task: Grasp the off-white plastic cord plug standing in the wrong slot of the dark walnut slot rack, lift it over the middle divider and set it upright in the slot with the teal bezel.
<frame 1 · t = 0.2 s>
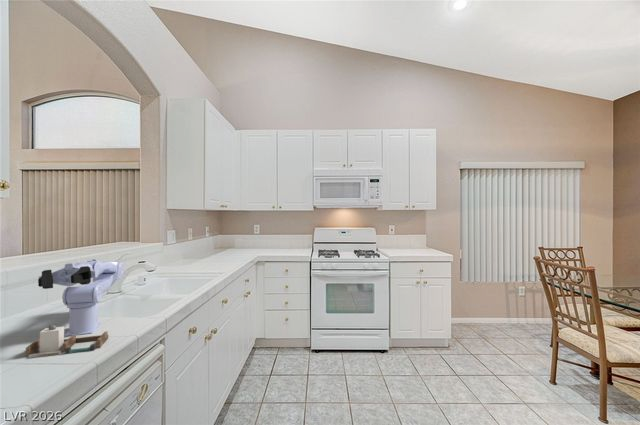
hand: (56, 281, 89), 21 cm above the counter, tool horizontal, fingers open, 7 cm apart
slot rack: (69, 347, 94), on the counter
plug: (52, 349, 92), resting in slot rack
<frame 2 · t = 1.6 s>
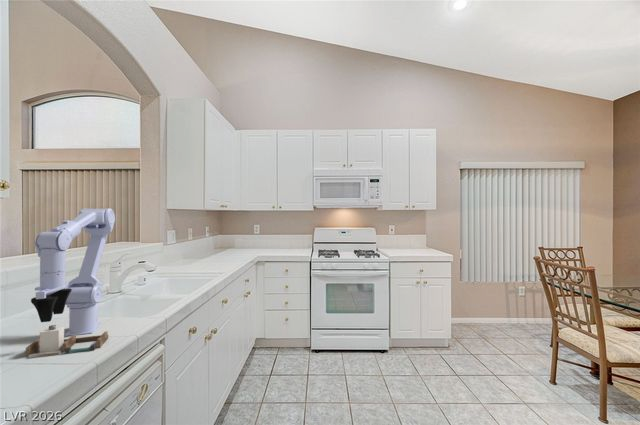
hand: (52, 317, 93), 9 cm above the counter, tool pointing down, fingers open, 7 cm apart
nothing on the counter moved.
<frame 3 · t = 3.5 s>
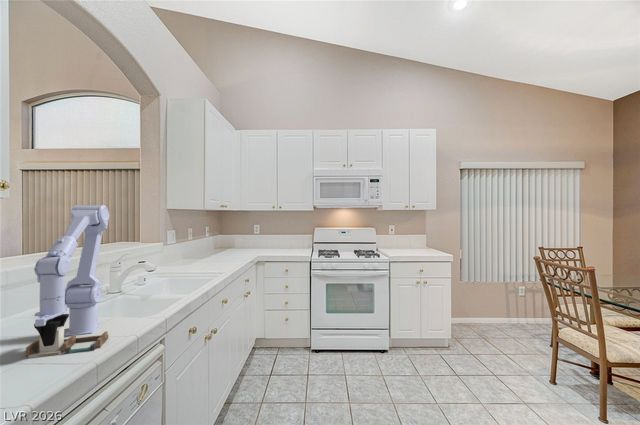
hand: (52, 342, 92), 2 cm above the counter, tool pointing down, fingers closed on plug, 3 cm apart
plug: (52, 349, 92), resting in slot rack, touching gripper
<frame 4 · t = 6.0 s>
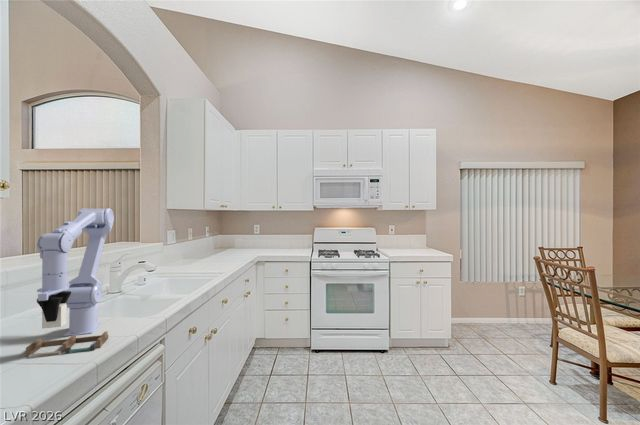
hand: (54, 319, 93), 9 cm above the counter, tool pointing down, fingers closed on plug, 3 cm apart
plug: (54, 325, 93), point 7 cm above the counter, touching gripper
when the fingers open (3 cm above the counter, at t = 8.8 s): plug drops 1 cm, resting in slot rack.
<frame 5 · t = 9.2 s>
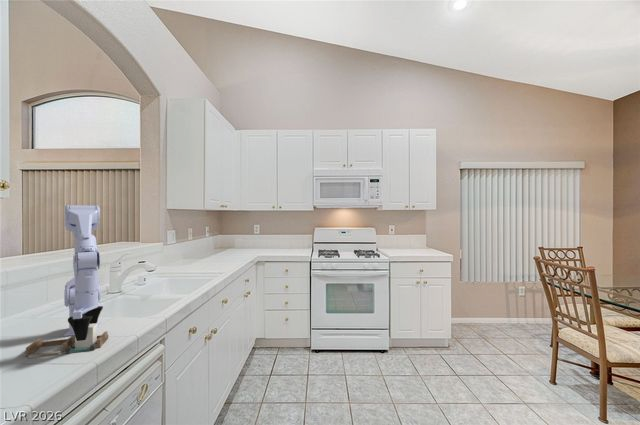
hand: (86, 335, 95), 3 cm above the counter, tool pointing down, fingers open, 7 cm apart
plug: (86, 345, 95), resting in slot rack
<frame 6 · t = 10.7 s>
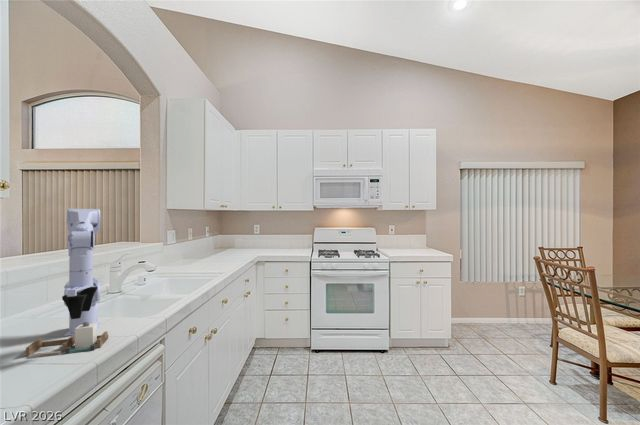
hand: (80, 314, 95), 9 cm above the counter, tool pointing down, fingers open, 7 cm apart
nothing on the counter moved.
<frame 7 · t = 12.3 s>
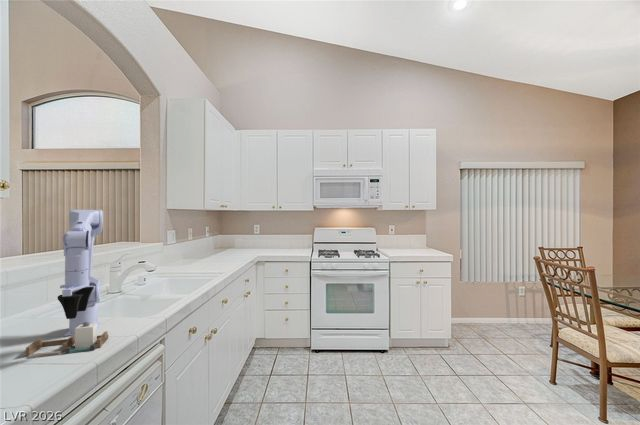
hand: (76, 314, 95), 9 cm above the counter, tool pointing down, fingers open, 7 cm apart
nothing on the counter moved.
at the end: plug 0.1 cm from the target spot, resting in slot rack; plug tilted 0°; the gripper is holding nothing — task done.
